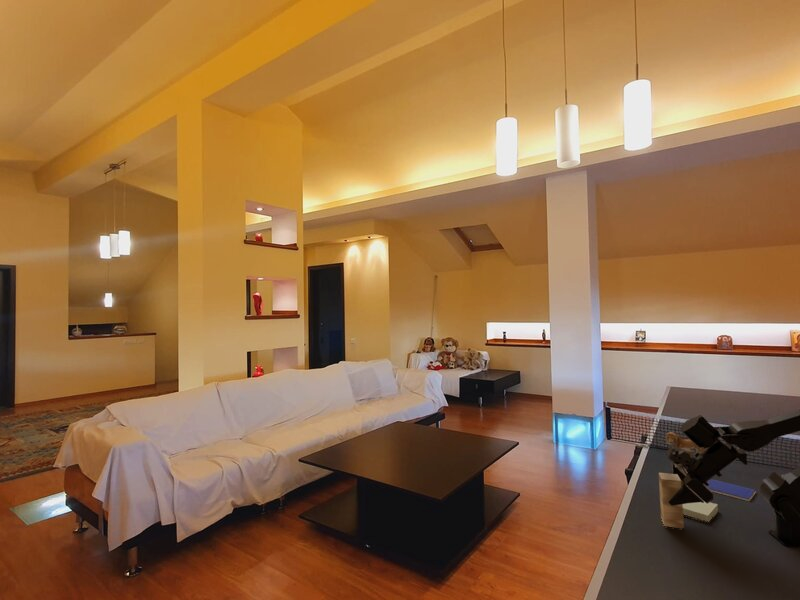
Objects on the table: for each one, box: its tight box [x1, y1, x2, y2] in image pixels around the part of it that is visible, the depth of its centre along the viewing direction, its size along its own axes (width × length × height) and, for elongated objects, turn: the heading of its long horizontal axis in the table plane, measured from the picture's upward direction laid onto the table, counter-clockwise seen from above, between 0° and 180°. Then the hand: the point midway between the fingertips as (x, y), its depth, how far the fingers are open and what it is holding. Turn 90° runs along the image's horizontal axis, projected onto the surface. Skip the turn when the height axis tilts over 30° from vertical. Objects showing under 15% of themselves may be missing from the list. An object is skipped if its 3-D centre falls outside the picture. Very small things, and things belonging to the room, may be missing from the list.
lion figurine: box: [665, 431, 707, 453], centre depth 162 cm, size 15×5×9 cm, turn 72°
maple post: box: [658, 472, 685, 529], centre depth 116 cm, size 4×4×13 cm
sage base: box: [683, 501, 719, 523], centre depth 122 cm, size 9×9×2 cm
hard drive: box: [707, 478, 757, 502], centre depth 133 cm, size 2×8×12 cm
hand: (666, 496), depth 116 cm, fingers open, 9 cm apart
